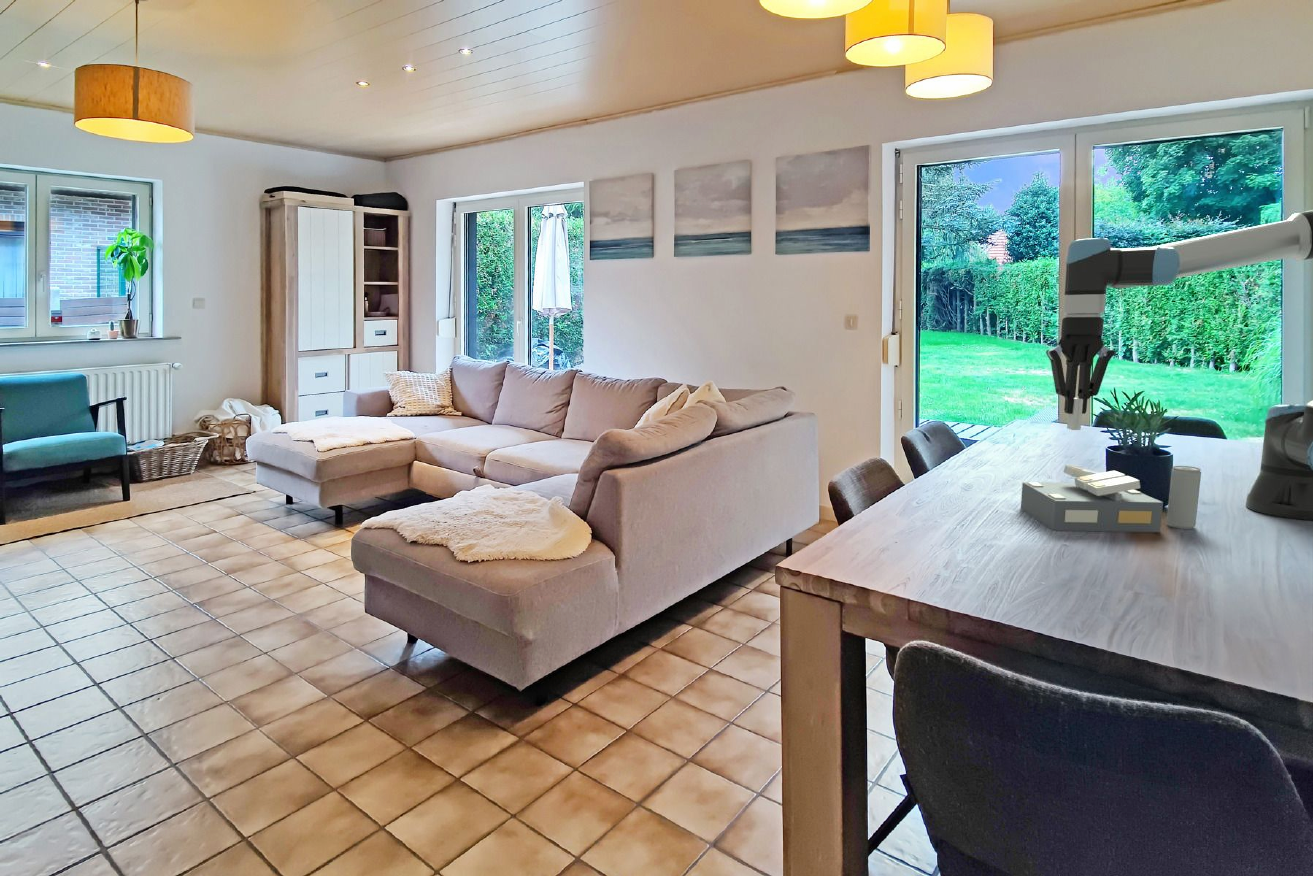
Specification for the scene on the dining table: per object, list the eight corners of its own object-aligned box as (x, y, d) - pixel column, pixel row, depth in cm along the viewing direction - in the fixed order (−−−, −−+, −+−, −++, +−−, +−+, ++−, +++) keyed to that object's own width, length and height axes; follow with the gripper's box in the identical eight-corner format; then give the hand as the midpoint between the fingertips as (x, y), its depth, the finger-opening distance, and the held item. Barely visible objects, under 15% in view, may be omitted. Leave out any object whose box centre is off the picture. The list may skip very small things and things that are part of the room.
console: (1116, 510, 164) (1119, 476, 163) (1160, 532, 147) (1164, 495, 146) (1020, 508, 166) (1022, 475, 165) (1053, 530, 149) (1056, 494, 148)
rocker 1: (1100, 480, 163) (1103, 472, 162) (1110, 484, 158) (1112, 476, 158) (1063, 472, 163) (1065, 464, 163) (1071, 476, 159) (1074, 468, 159)
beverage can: (1199, 530, 149) (1206, 470, 147) (1172, 529, 150) (1178, 470, 148) (1188, 523, 153) (1194, 466, 151) (1161, 522, 154) (1167, 465, 152)
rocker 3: (1129, 483, 152) (1127, 475, 151) (1140, 488, 148) (1139, 479, 147) (1087, 491, 153) (1086, 482, 152) (1097, 495, 149) (1096, 487, 148)
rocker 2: (1115, 477, 157) (1114, 469, 157) (1126, 482, 153) (1124, 473, 153) (1075, 485, 158) (1074, 477, 158) (1084, 489, 154) (1083, 481, 154)
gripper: (1107, 315, 159) (1097, 426, 162) (1042, 316, 160) (1034, 426, 164) (1125, 315, 151) (1115, 432, 155) (1057, 316, 153) (1048, 431, 156)
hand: (1073, 428), depth 159 cm, fingers closed
